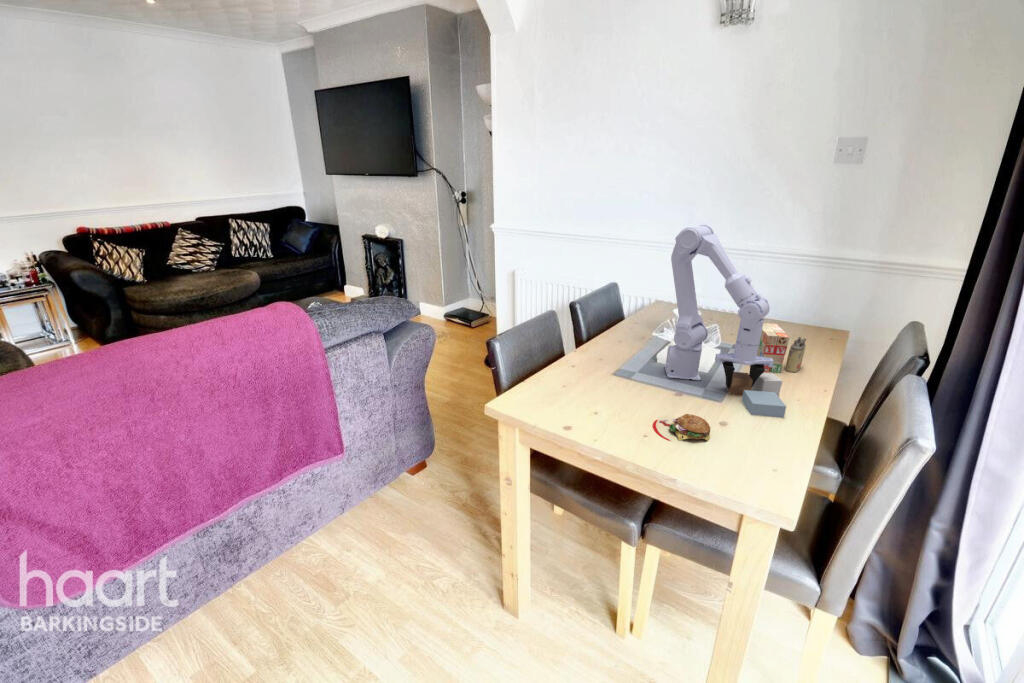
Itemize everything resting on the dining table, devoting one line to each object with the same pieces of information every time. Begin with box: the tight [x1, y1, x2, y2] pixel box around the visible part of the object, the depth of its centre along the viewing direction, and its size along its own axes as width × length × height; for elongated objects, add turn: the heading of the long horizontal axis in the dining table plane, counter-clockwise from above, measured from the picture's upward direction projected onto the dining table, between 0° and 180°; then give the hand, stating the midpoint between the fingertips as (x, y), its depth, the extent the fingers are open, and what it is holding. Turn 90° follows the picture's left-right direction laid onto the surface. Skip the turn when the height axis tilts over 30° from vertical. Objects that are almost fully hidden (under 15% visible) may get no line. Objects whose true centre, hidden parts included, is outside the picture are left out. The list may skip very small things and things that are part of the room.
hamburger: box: [652, 413, 711, 442], centre depth 115 cm, size 14×14×6 cm
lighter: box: [784, 336, 807, 373], centre depth 150 cm, size 7×4×10 cm, turn 137°
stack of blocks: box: [757, 322, 790, 374], centre depth 156 cm, size 21×6×12 cm, turn 169°
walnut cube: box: [725, 371, 753, 397], centre depth 135 cm, size 5×5×5 cm
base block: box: [741, 389, 787, 418], centre depth 126 cm, size 8×8×4 cm
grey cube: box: [751, 372, 783, 398], centre depth 135 cm, size 5×5×5 cm
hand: (738, 387), depth 135 cm, fingers closed on walnut cube, 5 cm apart
